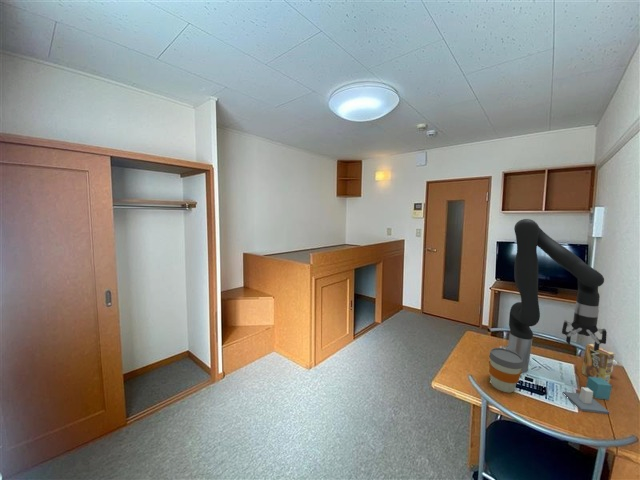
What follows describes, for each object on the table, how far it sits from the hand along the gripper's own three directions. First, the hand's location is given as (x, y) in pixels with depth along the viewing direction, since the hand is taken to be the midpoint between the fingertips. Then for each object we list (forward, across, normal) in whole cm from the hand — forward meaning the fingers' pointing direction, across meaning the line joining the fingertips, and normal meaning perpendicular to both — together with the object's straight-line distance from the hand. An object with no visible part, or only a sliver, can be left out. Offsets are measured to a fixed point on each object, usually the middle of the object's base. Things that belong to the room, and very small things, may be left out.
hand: (581, 346), depth 123 cm
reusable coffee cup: (+17, -25, -27) cm, 40 cm away
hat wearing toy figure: (+20, +10, +21) cm, 30 cm away
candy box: (+19, +6, +12) cm, 24 cm away
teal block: (+18, +6, -4) cm, 20 cm away
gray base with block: (+18, +2, -15) cm, 24 cm away
